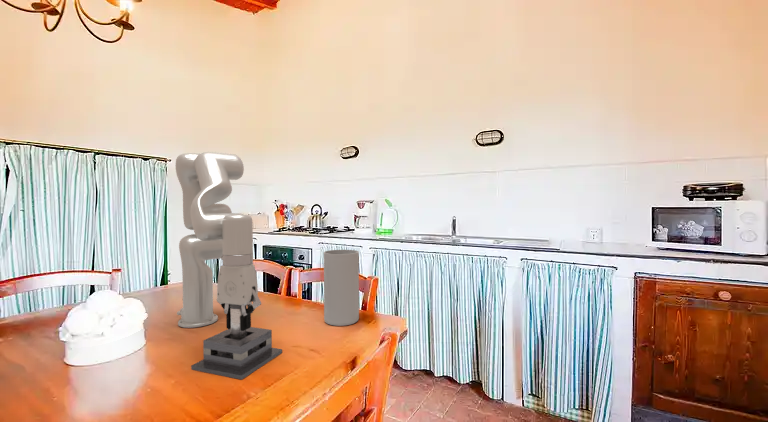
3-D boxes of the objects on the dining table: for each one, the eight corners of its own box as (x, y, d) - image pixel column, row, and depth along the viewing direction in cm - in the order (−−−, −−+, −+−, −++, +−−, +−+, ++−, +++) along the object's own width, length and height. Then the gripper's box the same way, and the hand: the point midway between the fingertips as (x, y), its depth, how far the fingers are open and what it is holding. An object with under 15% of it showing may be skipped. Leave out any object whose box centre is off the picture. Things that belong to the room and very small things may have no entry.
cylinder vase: (344, 329, 116) (344, 255, 116) (316, 322, 123) (316, 252, 123) (365, 318, 127) (365, 251, 127) (339, 313, 134) (338, 248, 133)
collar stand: (191, 369, 88) (190, 342, 88) (236, 345, 103) (236, 322, 103) (241, 379, 83) (241, 350, 83) (282, 352, 98) (282, 328, 98)
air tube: (227, 353, 92) (226, 296, 91) (238, 346, 96) (237, 293, 95) (239, 355, 90) (238, 298, 90) (250, 348, 94) (249, 294, 94)
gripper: (202, 261, 92) (203, 329, 92) (254, 264, 86) (254, 337, 87) (224, 257, 99) (224, 320, 99) (273, 259, 93) (273, 327, 94)
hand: (238, 327), depth 93 cm, fingers closed on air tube, 4 cm apart
